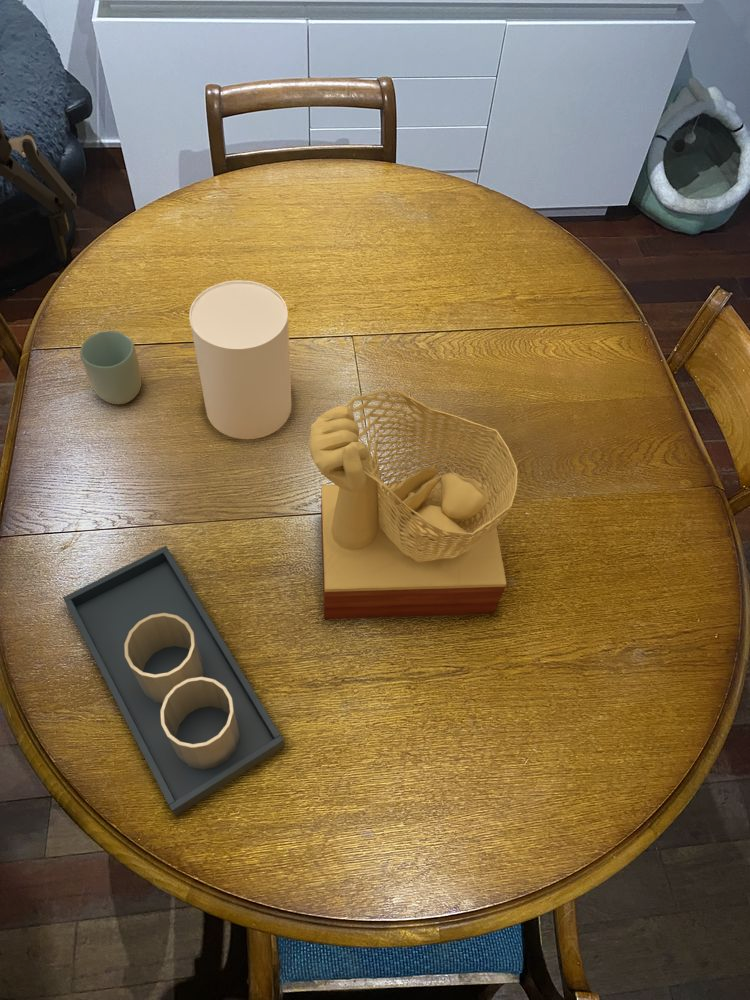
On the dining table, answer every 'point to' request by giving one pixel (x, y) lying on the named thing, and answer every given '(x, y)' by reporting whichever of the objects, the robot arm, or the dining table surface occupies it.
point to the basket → (409, 515)
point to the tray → (105, 627)
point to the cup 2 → (155, 637)
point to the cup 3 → (186, 701)
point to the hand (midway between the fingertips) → (11, 259)
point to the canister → (243, 357)
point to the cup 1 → (112, 366)
